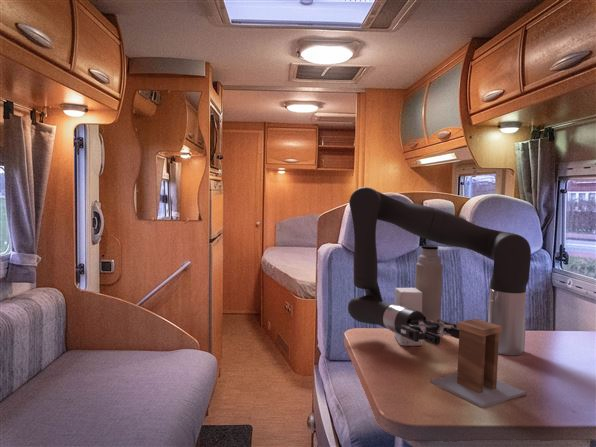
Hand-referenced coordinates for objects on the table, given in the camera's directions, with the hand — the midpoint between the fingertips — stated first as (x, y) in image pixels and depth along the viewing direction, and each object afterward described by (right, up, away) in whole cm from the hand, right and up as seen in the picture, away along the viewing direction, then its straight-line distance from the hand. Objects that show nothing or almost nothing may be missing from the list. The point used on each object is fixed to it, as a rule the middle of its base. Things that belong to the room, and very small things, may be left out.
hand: (452, 338), depth 107 cm
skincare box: (-4, -8, +26) cm, 28 cm away
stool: (+3, -9, -6) cm, 11 cm away
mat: (+3, -10, -6) cm, 12 cm away
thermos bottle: (+3, -8, +33) cm, 34 cm away
